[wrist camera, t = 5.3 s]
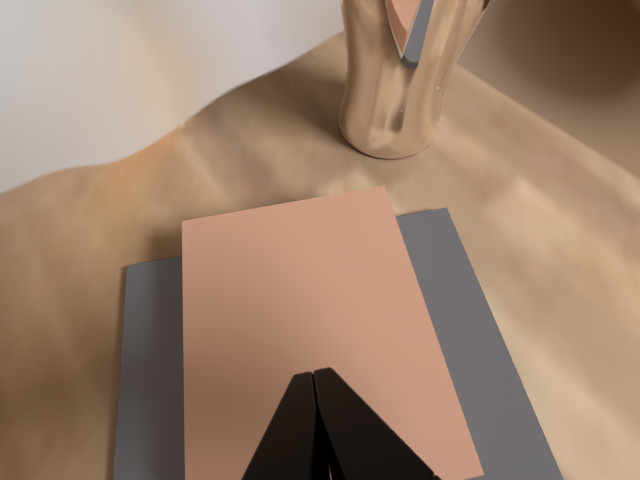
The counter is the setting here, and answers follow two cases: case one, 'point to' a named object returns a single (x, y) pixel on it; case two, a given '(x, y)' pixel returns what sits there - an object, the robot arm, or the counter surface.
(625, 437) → the counter surface
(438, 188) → the counter surface
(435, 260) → the mat
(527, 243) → the counter surface
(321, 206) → the tile
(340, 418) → the robot arm
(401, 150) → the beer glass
